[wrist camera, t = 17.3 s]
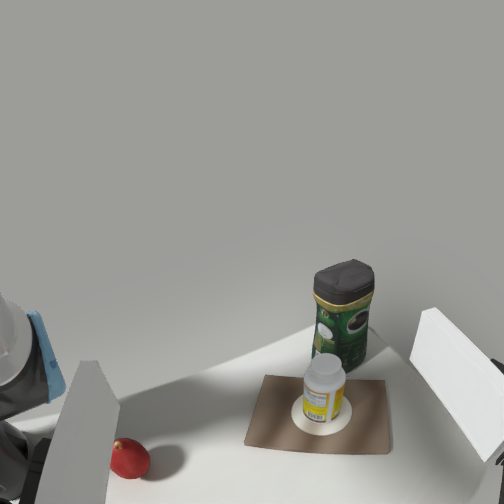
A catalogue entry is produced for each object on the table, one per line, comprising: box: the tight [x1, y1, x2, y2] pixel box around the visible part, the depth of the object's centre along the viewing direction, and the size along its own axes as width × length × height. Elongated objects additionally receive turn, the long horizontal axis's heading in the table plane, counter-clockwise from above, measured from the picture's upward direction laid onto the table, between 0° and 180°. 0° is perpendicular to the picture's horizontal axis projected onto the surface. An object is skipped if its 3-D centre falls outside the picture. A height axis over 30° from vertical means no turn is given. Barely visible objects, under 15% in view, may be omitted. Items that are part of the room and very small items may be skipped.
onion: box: [110, 438, 150, 479], centre depth 31 cm, size 6×6×8 cm
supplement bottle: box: [303, 353, 346, 424], centre depth 38 cm, size 6×6×10 cm
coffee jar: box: [312, 259, 374, 373], centre depth 48 cm, size 10×8×19 cm
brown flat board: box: [244, 375, 390, 455], centre depth 41 cm, size 20×14×1 cm
